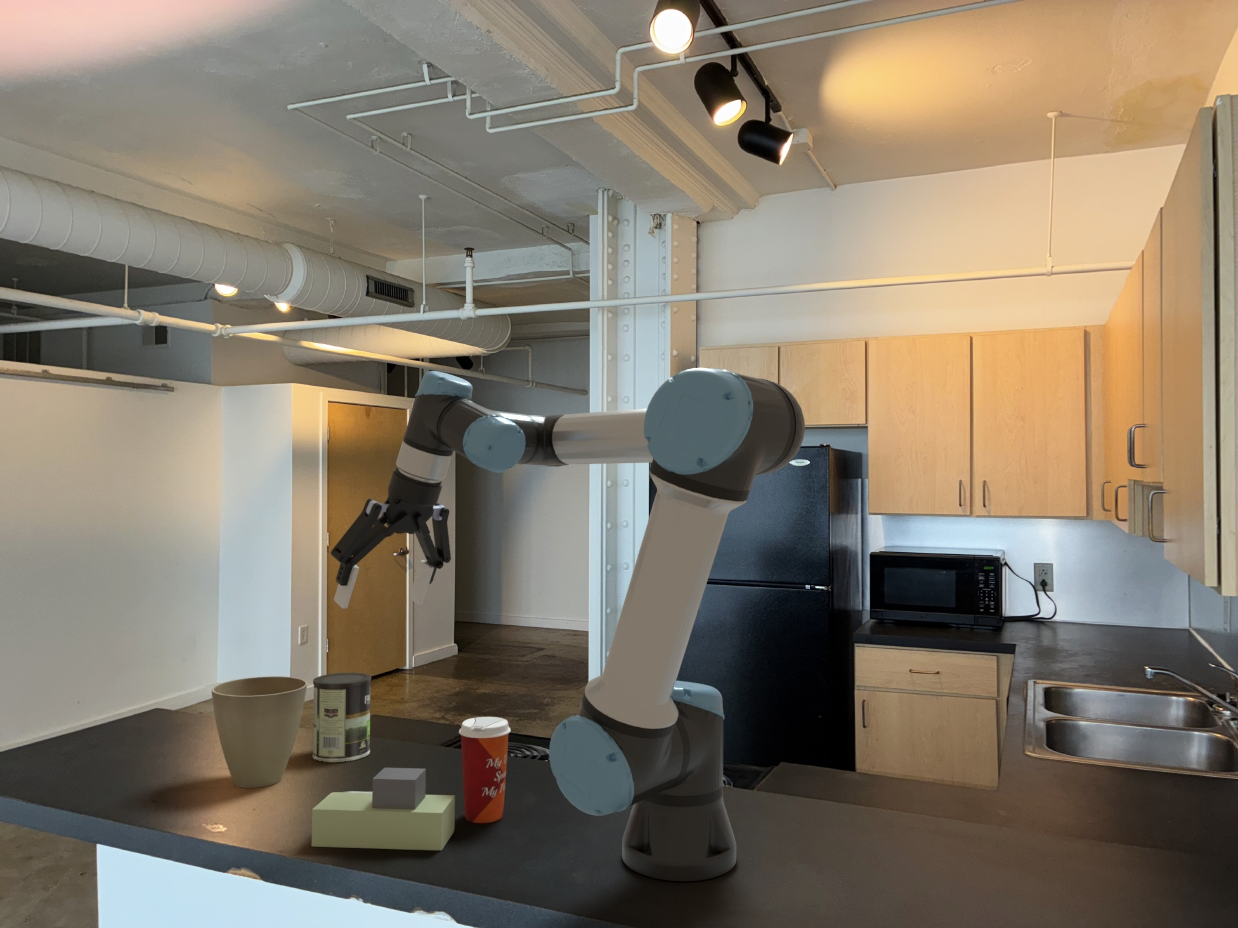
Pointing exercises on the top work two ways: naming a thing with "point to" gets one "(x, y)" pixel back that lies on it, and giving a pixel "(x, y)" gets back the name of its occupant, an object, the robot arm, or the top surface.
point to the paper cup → (484, 767)
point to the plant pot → (258, 726)
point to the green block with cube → (386, 815)
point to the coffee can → (341, 717)
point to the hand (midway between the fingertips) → (379, 602)
